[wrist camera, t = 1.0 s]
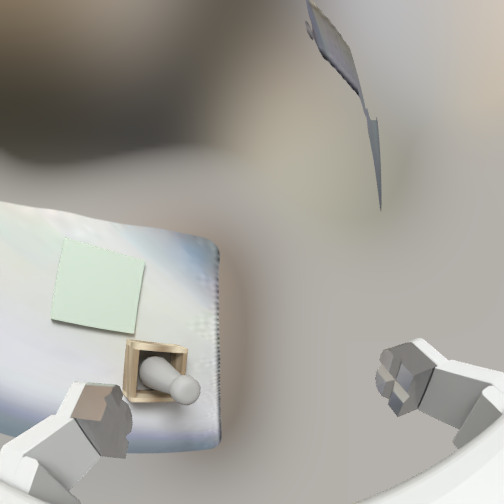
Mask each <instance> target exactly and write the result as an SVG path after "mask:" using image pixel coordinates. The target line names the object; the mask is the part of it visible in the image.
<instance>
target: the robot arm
mask: <svg viewBox="0 0 504 504" xmlns="http://www.w3.org/2000/svg"><path fill="white" fill-rule="evenodd" d="M380 362H381V363H382V365H381V366H380V367H379V369H378V370H377V373H376V377H375V380H376V386H377V389H378V391H379V392H380V394H381V395H382V396H383V397H386V398H388V399H389V402H388V405H389V406H390V407H391V409H392V410H393V411H394V413H395V414H396V415H397V417H399V416H401V415H404V414H406V413H409V412H411V411H413V410H416V409H418V410H419V411H422V412H423V413H426V414H428V415H430V416H432V417H434V418H436V419H438V420H440V421H442V422H444V423H446V424H449V425H451V426H453V427H455V428H457V429H460V430H459V431H458V433H457V435H456V436H455V437H454V439H453V443H454V445H455V446H456V447H457V448H458V450H457V451H455V452H454V453H452V454H451V455H449V456H448V457H446V458H445V459H443V460H441V461H440V462H439V463H437V464H435V465H434V466H432V467H430V468H428V469H426V470H425V471H423V472H421V473H419V474H418V475H416V476H414V477H412V478H410V479H408V480H406V481H404V482H402V483H400V484H398V485H396V486H394V487H392V488H390V489H388V490H385V491H383V492H381V493H378V494H376V495H374V496H371V497H369V498H366V499H364V500H361V501H358V502H356V503H353V504H504V373H503V372H499V371H495V370H491V369H487V368H482V367H478V366H474V365H470V364H466V363H463V362H459V361H454V360H450V361H448V360H447V359H446V358H445V357H444V356H442V355H441V354H440V353H439V352H438V351H437V350H435V349H434V348H433V347H432V346H431V345H429V344H428V343H427V342H426V341H425V340H424V339H421V338H417V339H415V340H412V341H409V342H407V343H404V344H401V345H398V346H395V347H392V348H388V349H385V350H383V352H382V353H381V356H380ZM122 396H123V393H122V391H121V389H120V386H118V385H114V384H101V383H90V382H89V383H86V382H78V381H76V382H74V383H72V385H71V387H70V388H69V390H68V392H67V394H66V396H65V398H64V400H63V402H62V404H61V406H60V408H59V410H58V412H57V414H56V415H51V416H49V417H48V418H46V419H44V420H43V421H41V422H40V423H38V424H37V425H35V426H34V427H32V428H30V429H29V430H27V431H26V432H24V433H23V434H21V435H19V436H18V437H16V438H15V439H13V440H11V441H10V442H8V443H7V444H5V445H4V446H3V447H2V449H1V451H0V504H81V502H80V501H79V500H78V499H77V498H76V497H75V496H74V495H72V494H71V493H70V492H69V490H70V489H71V488H72V487H73V486H74V485H75V484H76V483H77V482H78V481H79V480H80V479H81V478H82V477H83V476H84V475H85V474H86V473H87V471H89V470H90V469H91V467H92V466H93V465H94V464H95V463H96V462H97V461H98V460H99V459H100V458H101V456H105V457H114V458H126V453H127V448H128V444H129V442H128V440H127V439H126V437H125V436H127V435H128V434H129V433H130V432H131V429H132V414H131V410H130V408H129V406H128V404H127V403H126V402H124V401H123V400H122Z"/></svg>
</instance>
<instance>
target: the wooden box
mask: <svg viewBox="0 0 504 504" xmlns="http://www.w3.org/2000/svg"><path fill="white" fill-rule="evenodd" d="M140 350H147V351H159V352H171V362H170V364H171V365H172V366H173V368H175V369H176V370H177V371H178V372H179V373H180V374H181V375H185V372H186V363H187V354H188V349H187V348H184V347H181V346H179V345H175V344H164V343H154V342H145V341H137V340H129V339H127V342H126V352H125V363H124V377H123V394H124V395H125V396H126V397H127V399H128V400H129V401H130V402H176V401H175V400H174V399H173V398H172V396H171V394H168V393H165V392H161V391H158V390H136V387H137V373H138V361H139V351H140Z"/></svg>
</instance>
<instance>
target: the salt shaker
mask: <svg viewBox="0 0 504 504" xmlns="http://www.w3.org/2000/svg"><path fill="white" fill-rule="evenodd" d="M139 376H140V378H141V380H142V383H143V384H144V385H146V386H147V387H149V388H151V389H155V390H158V391H161V392H165V393H168V394H171V396H172V398H173V399H174V400H175V401H176V402H178V403H179V404H182V405H190V404H192V403H194V402H195V401H196V400H197V399H198V397H199V395H200V388H201V387H200V385H199V383H198V382H197V381H196V380H195V379H194V378H193V377H191V376H187V375H181V374H180V373H179V372H178V371H177V370H176V369H175V368H173V366H172V365H171V364H170V363H169V362H168V361H166V360H165V359H164V358H163V357H158V356H152V357H148V358H145V360H144V361H143V362H142V363H141V365H140V366H139Z"/></svg>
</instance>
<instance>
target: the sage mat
mask: <svg viewBox="0 0 504 504" xmlns="http://www.w3.org/2000/svg"><path fill="white" fill-rule="evenodd" d="M144 265H145V261H144V260H141V259H137V258H134V257H130V256H127V255H123V254H120V253H116V252H113V251H109V250H106V249H102V248H99V247H96V246H92V245H89V244H86V243H82V242H79V241H76V240H73V239H69V238H66V237H65V239H64V243H63V248H62V252H61V257H60V261H59V266H58V271H57V277H56V282H55V288H54V295H53V302H52V309H51V319H55V320H59V321H64V322H69V323H74V324H79V325H84V326H89V327H95V328H100V329H106V330H112V331H119V332H126V333H132V334H134V330H135V322H136V315H137V307H138V301H139V294H140V288H141V282H142V276H143V271H144Z"/></svg>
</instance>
